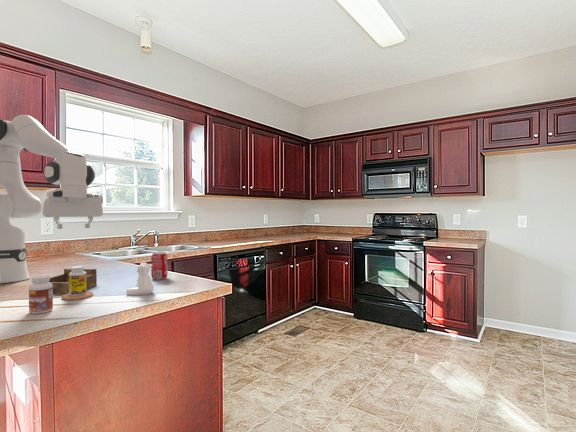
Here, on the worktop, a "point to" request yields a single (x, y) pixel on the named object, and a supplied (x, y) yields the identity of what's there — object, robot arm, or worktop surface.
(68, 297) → the tan oval disc
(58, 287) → the frame
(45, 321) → the worktop surface
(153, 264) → the soda can
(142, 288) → the seated beast figurine
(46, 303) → the pill bottle
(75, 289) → the supplement bottle
